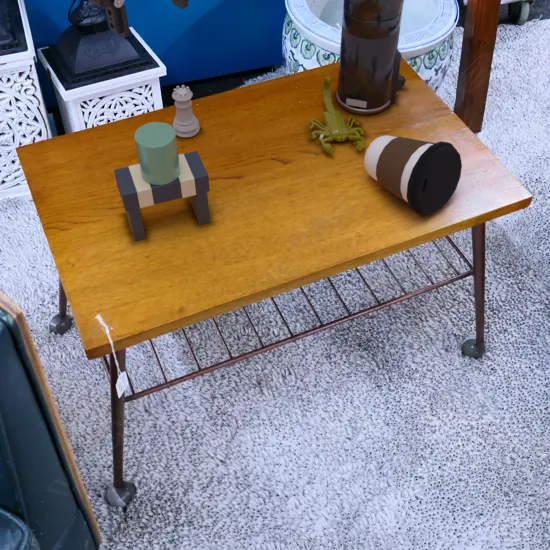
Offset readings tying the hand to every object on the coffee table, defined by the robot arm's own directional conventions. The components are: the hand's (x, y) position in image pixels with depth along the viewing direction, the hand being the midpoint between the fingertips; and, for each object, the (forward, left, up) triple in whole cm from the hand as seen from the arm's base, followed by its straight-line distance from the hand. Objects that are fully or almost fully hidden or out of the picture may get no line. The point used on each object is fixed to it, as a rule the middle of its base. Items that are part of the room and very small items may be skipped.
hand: (151, 19), depth 85 cm
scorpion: (-30, -13, -33) cm, 46 cm away
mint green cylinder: (+1, -2, -24) cm, 24 cm away
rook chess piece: (-7, -21, -33) cm, 39 cm away
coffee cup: (-31, -1, -29) cm, 43 cm away
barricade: (+1, -2, -33) cm, 33 cm away
